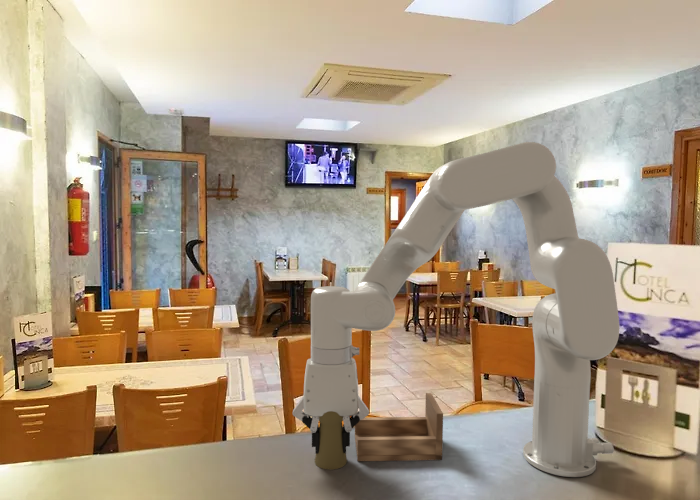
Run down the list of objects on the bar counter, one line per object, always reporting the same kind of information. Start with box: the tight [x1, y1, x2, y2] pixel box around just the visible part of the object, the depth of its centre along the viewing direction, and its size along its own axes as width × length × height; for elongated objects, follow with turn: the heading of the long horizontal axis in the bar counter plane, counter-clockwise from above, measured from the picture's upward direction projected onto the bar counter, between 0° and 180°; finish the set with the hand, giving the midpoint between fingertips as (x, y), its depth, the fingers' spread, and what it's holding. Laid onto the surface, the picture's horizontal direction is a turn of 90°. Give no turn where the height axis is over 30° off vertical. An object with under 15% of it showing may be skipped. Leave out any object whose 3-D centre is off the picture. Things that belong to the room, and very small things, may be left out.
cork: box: [314, 411, 348, 471], centre depth 90 cm, size 6×6×11 cm
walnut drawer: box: [354, 392, 444, 462], centre depth 95 cm, size 16×10×9 cm, turn 92°
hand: (330, 448), depth 90 cm, fingers open, 4 cm apart
